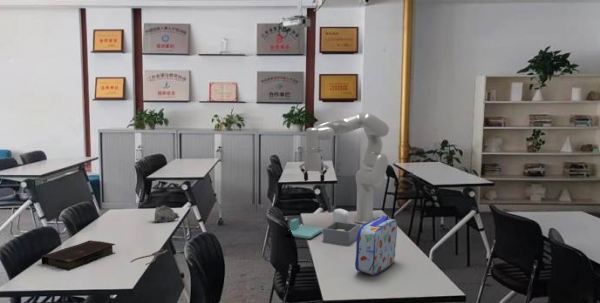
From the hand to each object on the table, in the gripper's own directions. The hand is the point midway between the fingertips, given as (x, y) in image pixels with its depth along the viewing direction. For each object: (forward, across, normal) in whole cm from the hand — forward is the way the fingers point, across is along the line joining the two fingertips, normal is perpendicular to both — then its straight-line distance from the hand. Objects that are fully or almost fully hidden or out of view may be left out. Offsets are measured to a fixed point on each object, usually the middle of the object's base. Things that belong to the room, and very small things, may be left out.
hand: (314, 181), depth 250 cm
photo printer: (+29, -14, -5) cm, 32 cm away
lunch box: (+28, -48, +40) cm, 68 cm away
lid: (+28, +2, +10) cm, 30 cm away
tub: (+28, -20, +10) cm, 35 cm away
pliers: (+25, +50, +75) cm, 93 cm away
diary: (+24, +76, +91) cm, 121 cm away
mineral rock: (+26, +86, +25) cm, 93 cm away
